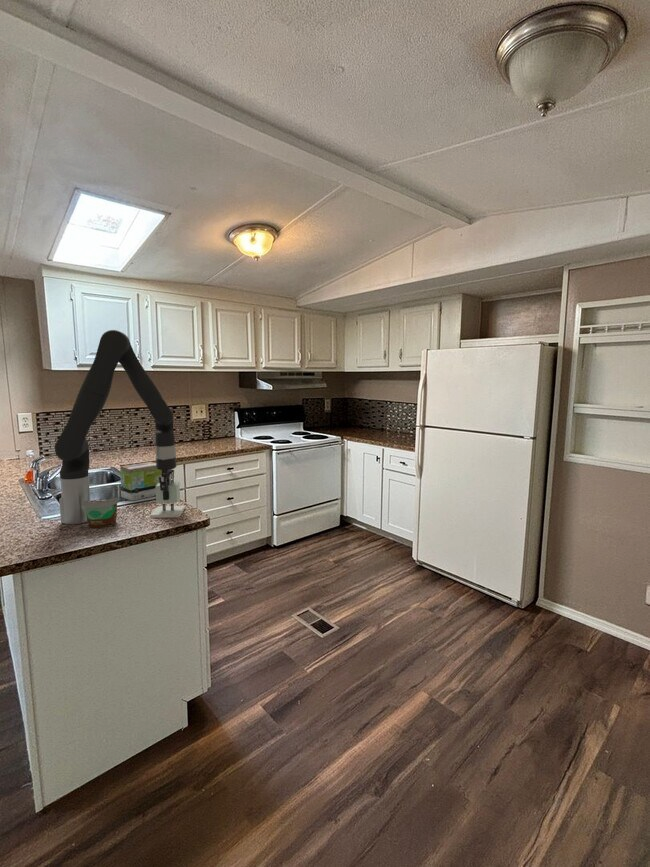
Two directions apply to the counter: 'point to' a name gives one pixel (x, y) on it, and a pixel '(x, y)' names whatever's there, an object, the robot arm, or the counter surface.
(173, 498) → the block
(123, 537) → the counter surface
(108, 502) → the food container
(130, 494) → the tea box
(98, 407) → the robot arm
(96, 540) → the counter surface
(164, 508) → the stub plate
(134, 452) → the counter surface
